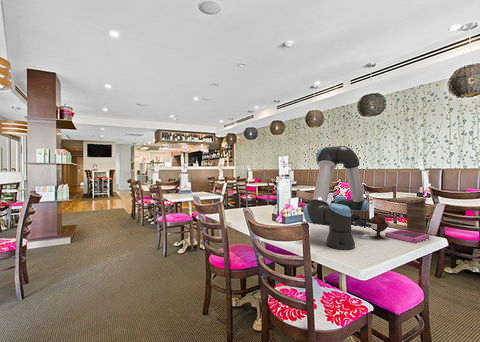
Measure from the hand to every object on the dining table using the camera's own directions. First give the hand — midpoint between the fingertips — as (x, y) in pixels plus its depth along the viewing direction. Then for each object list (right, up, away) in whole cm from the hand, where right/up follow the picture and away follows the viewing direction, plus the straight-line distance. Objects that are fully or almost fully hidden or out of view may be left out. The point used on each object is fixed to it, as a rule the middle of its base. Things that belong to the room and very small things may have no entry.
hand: (383, 225), depth 148 cm
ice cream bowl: (-1, -9, +3) cm, 9 cm away
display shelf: (+18, -8, +3) cm, 20 cm away
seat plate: (+16, -8, +2) cm, 18 cm away
